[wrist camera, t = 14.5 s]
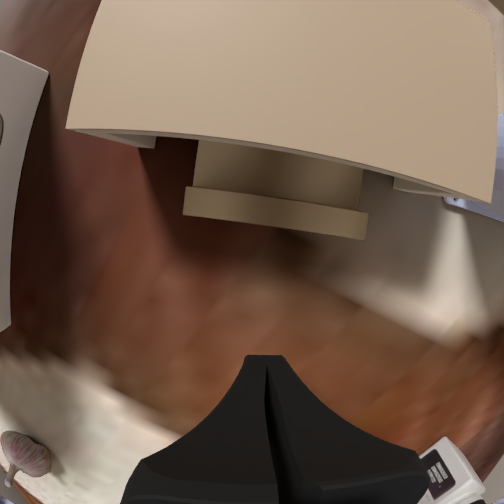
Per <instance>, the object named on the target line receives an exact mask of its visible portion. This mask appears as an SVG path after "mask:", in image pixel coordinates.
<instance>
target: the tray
mask: <svg viewBox="0 0 504 504" xmlns="http://www.w3.org/2000/svg"><path fill="white" fill-rule="evenodd" d="M363 173H364V169H363V168H359V167H355V166H351V165H346V164H342V163H337V162H333V161H328V160H323V159H319V158H314V157H309V156H303V155H298V154H293V153H287V152H282V151H276V150H270V149H264V148H257V147H251V146H244V145H237V144H230V143H222V142H214V141H205V140H199V144H198V151H197V158H196V165H195V172H194V180H193V186H186V190H185V199H184V208H183V215H189V216H198V217H206V218H213V219H221V220H229V221H236V222H244V223H251V224H259V225H266V226H273V227H280V228H287V229H294V230H301V231H307V232H314V233H321V234H327V235H334V236H340V237H347V238H353V239H359V240H365V236H366V231H367V226H368V220H369V214H368V213H365V212H362V211H358V206H359V200H360V194H361V187H362V180H363Z"/></svg>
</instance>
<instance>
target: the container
mask: <svg viewBox="0 0 504 504" xmlns="http://www.w3.org/2000/svg"><path fill="white" fill-rule="evenodd" d="M419 458H420V459H421V460H422V462H423V464H424V466H425V468H426V470H427V472H428V474H429V476H430V477H431V481H430V486H429V487H428V489H427V491H426V493H425V494H424V496H423V497H422V498H421V500H420V501H419V502H418V503H417V504H486V503H485V502H484V500H483V498H482V497H481V494H483V493H484V492H485V490H486V489H485V487H484V485H483V483H482V482H481V480H480V479H479V477H478V475H477V474H476V472H475V471H474V469H473V468H472V466H471V465H470V463H469V462H468V460H467V459H466V457H465V456H464V454H463V453H462V452H461V451H460V450H459V449H458V448H457V447H456V446H455V445H454V444H453V443H452V442H451V441H450V440H449V439H448V438H447V437H442V438H441V439H440V440H438V441H437V442H436V443H435V444H433V445H432V446H431V447H430V448H428V449H427V450H426V451H424V452H423V453H422V454H420V455H419Z"/></svg>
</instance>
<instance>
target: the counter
mask: <svg viewBox="0 0 504 504" xmlns="http://www.w3.org/2000/svg"><path fill="white" fill-rule="evenodd" d="M497 125H498V105H497V80H496V67H495V57H494V48H493V41H492V34H491V28H490V22H489V20H488V19H486V18H485V17H483V16H482V15H480V14H479V13H477V12H475V11H474V10H472V9H471V8H469V7H467V6H466V5H464V4H462V3H460V2H459V1H457V0H102V1H101V4H100V6H99V9H98V12H97V14H96V17H95V20H94V22H93V25H92V28H91V31H90V34H89V37H88V40H87V43H86V46H85V49H84V53H83V56H82V59H81V63H80V67H79V70H78V74H77V78H76V82H75V86H74V90H73V94H72V99H71V103H70V108H69V113H68V118H67V124H66V129H69V130H73V131H78V132H82V133H86V134H90V135H94V136H98V137H102V138H105V139H109V140H113V141H117V142H120V143H124V144H128V145H131V146H135V147H142V148H155V142H156V136H164V137H176V138H186V139H196V140H205V141H214V142H222V143H230V144H237V145H244V146H251V147H257V148H264V149H270V150H276V151H282V152H287V153H293V154H298V155H303V156H309V157H314V158H319V159H323V160H328V161H333V162H337V163H342V164H346V165H351V166H355V167H359V168H363V169H367V170H371V171H375V172H379V173H383V174H387V175H391V176H394V182H393V189H397V190H400V191H404V192H409V193H418V194H427V195H435V196H443V197H450V198H458V199H465V200H471V201H478V202H484V203H491V199H492V191H493V183H494V174H495V164H496V150H497Z"/></svg>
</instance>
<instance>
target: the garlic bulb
mask: <svg viewBox="0 0 504 504" xmlns="http://www.w3.org/2000/svg"><path fill="white" fill-rule="evenodd" d="M0 442H1V446H2V450H3V453H4V455H5V456H6V458H7V460H8V462H9V463H10V467H9V471H8V474H7V476H6V479H5V484H6V486H7V487H11V486H12V482H13V478H14V476H15V474H16V473H17V472H18V471H19V470H21V471H22V472H23V473H26V474H28V475H29V476H31V477H41V476H43V475H45V474H47V473H48V472H50V470H51V460H50V454H49V451H48V450H47V448H46V447H44V446H43V445H40V444H35V443H34V442H33V441H32V440H31V439H30V438H29V437H27V436H24V435H21V434H17V433H15V432H13V431H5V432H3V433H2V435H1V438H0Z"/></svg>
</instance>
